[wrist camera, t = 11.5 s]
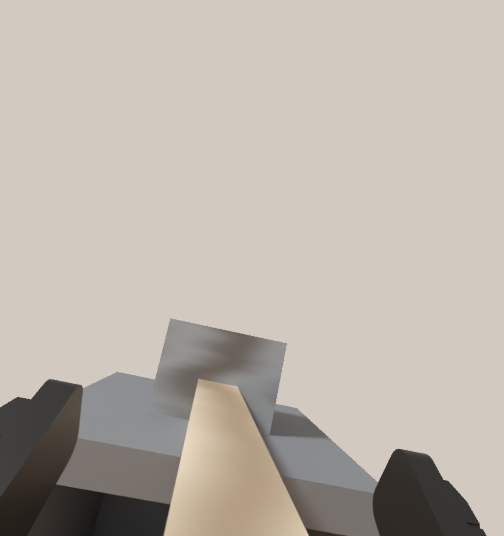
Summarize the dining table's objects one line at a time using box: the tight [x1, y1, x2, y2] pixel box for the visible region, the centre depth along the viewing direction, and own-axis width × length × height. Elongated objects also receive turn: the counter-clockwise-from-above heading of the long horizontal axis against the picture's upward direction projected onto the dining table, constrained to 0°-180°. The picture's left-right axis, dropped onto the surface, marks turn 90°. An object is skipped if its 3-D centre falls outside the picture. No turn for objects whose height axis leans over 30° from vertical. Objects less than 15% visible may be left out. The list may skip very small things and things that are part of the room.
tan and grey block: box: [147, 319, 309, 536], centre depth 17 cm, size 8×28×6 cm, turn 7°
